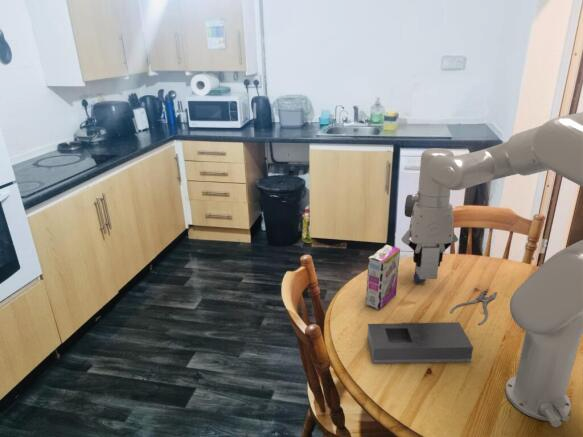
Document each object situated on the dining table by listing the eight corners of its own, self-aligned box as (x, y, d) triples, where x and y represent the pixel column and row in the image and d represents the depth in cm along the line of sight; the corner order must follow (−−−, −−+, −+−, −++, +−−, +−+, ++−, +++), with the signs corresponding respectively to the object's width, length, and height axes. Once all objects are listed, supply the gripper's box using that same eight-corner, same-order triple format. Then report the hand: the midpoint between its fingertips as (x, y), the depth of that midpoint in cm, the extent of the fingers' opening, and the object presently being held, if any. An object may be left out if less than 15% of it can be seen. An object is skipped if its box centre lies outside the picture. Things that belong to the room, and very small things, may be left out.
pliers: (448, 314, 125) (465, 283, 140) (447, 317, 125) (465, 285, 140) (484, 325, 119) (497, 291, 135) (483, 327, 120) (497, 293, 135)
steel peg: (436, 278, 113) (440, 247, 110) (419, 279, 114) (422, 248, 110) (432, 270, 118) (435, 240, 114) (415, 270, 118) (418, 240, 114)
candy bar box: (380, 311, 128) (382, 262, 122) (365, 305, 131) (367, 257, 124) (397, 294, 136) (401, 247, 129) (383, 289, 139) (385, 243, 132)
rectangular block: (470, 362, 107) (473, 347, 105) (373, 363, 108) (374, 348, 106) (457, 336, 116) (459, 322, 114) (367, 337, 117) (368, 323, 115)
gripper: (402, 205, 104) (397, 271, 111) (473, 203, 104) (464, 270, 111) (396, 194, 111) (392, 258, 118) (462, 193, 111) (454, 257, 117)
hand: (427, 263), depth 114 cm, fingers closed on steel peg, 4 cm apart
